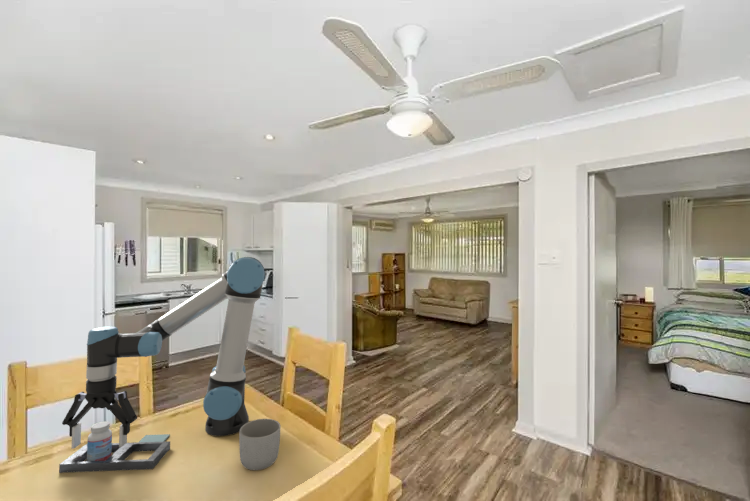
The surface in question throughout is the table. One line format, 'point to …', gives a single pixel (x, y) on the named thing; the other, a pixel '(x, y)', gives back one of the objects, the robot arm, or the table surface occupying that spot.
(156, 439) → the coaster
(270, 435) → the planter
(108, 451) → the pill bottle
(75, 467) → the rack frame
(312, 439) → the table surface
